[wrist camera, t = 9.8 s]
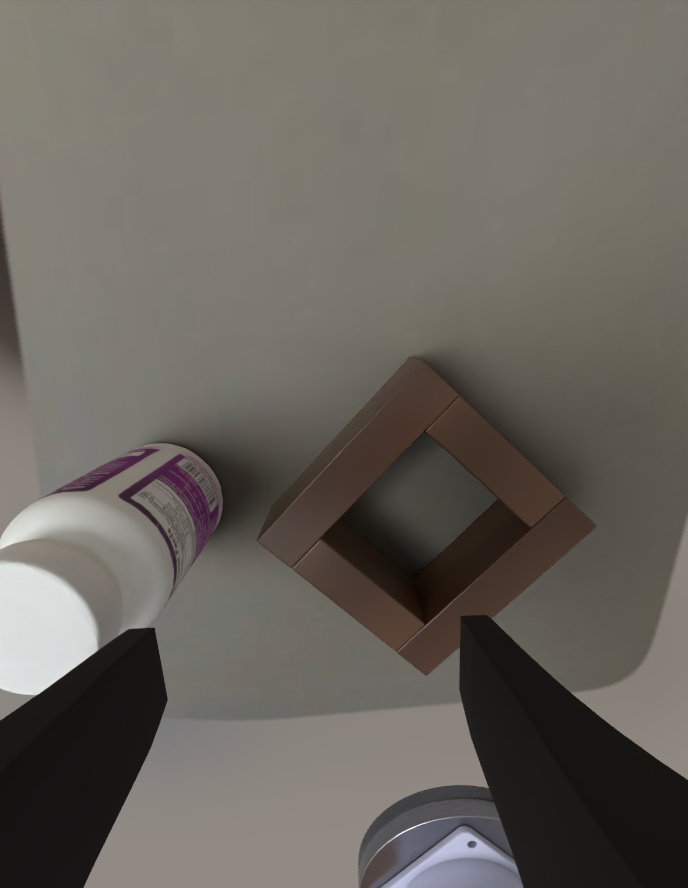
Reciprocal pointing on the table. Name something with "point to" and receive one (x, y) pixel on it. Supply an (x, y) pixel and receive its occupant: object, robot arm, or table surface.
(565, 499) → the frame
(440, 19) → the table surface
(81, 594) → the pill bottle
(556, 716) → the robot arm
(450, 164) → the table surface
